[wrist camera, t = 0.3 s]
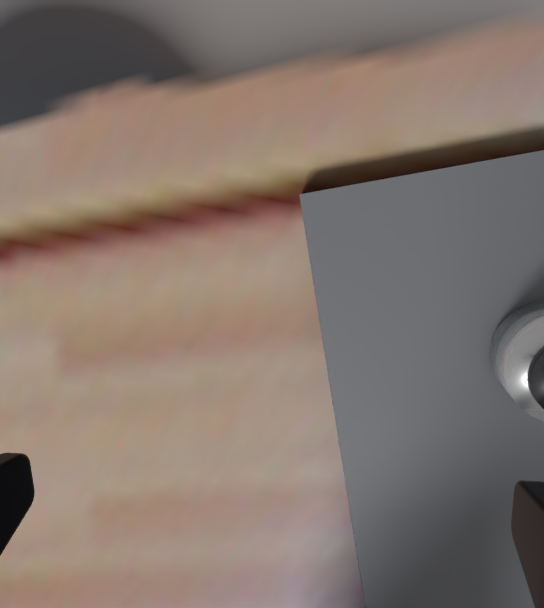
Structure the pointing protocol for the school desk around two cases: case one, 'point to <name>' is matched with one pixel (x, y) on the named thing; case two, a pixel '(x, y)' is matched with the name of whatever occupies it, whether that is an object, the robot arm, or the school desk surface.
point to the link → (518, 354)
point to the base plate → (430, 373)
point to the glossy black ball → (537, 377)
